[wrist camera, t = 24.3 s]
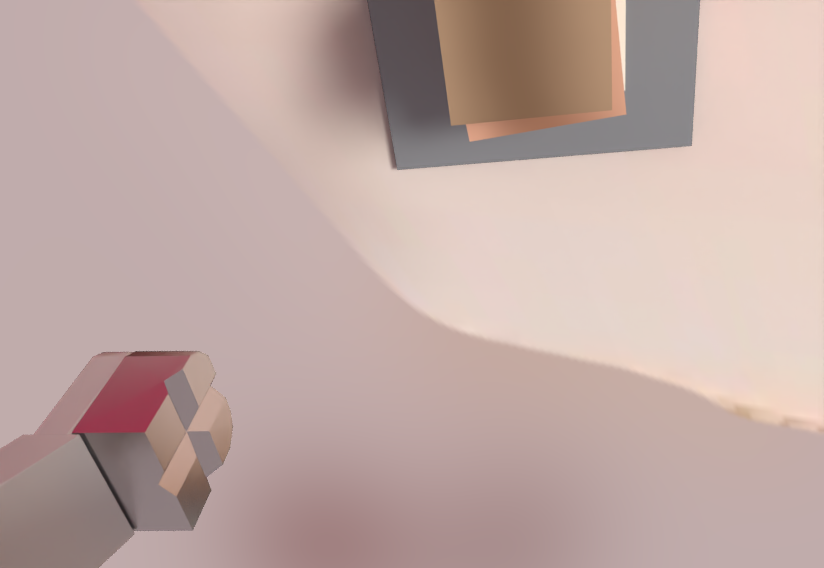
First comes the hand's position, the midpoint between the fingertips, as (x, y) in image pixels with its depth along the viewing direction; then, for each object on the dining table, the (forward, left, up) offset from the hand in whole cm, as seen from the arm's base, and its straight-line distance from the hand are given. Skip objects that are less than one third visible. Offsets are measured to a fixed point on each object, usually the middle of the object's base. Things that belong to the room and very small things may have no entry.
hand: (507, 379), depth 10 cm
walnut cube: (0, 0, -20) cm, 20 cm away
